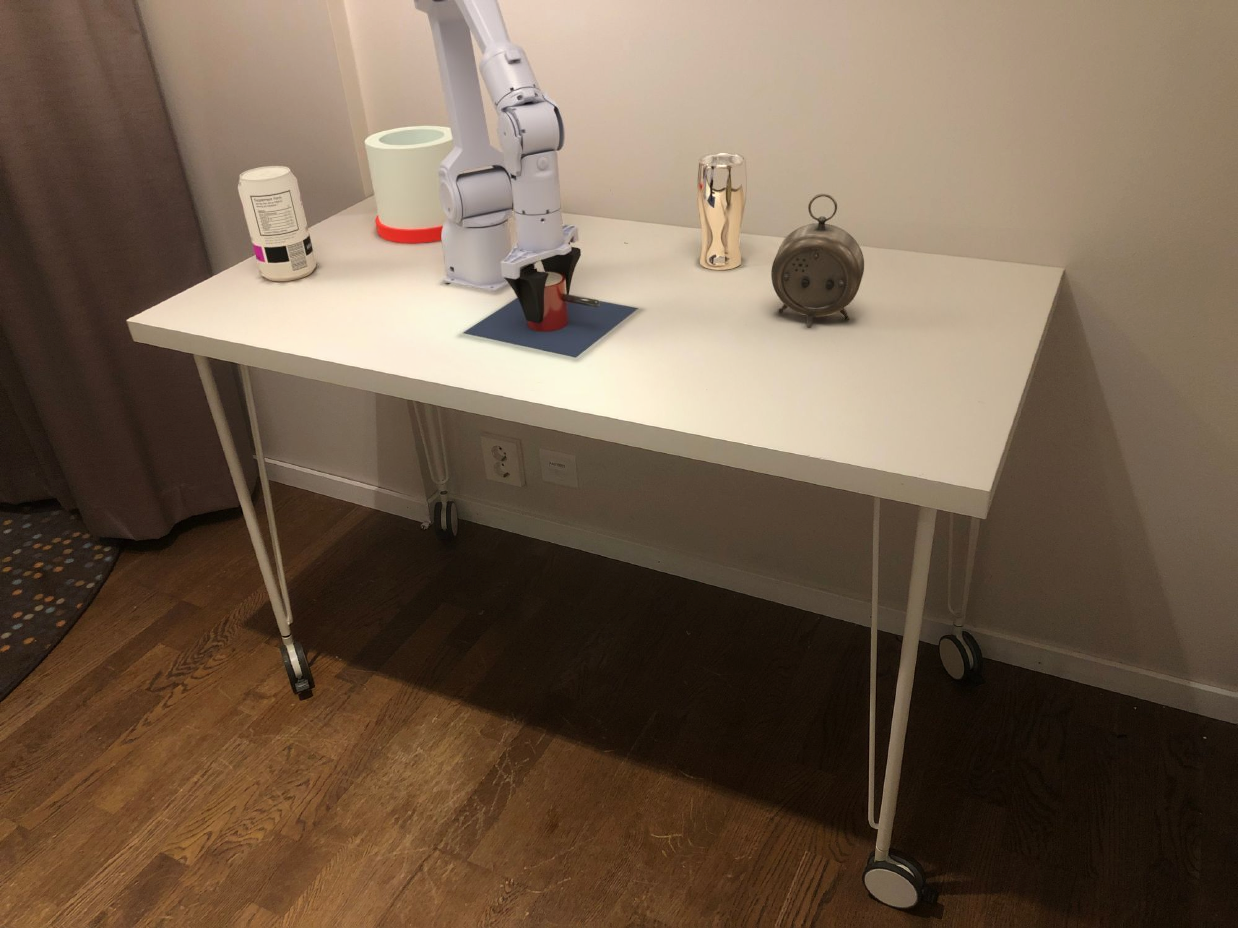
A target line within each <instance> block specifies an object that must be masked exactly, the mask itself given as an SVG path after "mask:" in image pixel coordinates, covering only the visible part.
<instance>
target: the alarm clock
mask: <svg viewBox="0 0 1238 928" xmlns="http://www.w3.org/2000/svg"><path fill="white" fill-rule="evenodd" d="M822 197H824V198H825V197H826V198H828V199H830V200H831V201H832V203H833V205H834V210H833V213H832V214H831V215H830V216H829V217H825V216H823V215H821V216H819V217H816V216H815V215H814V214H813V212H812V204H813V203H814V201H815V200H817V199H818V198H822ZM807 209H808V213H809V215H810V217H811V218H812V219H813V220H815V221H817V223H810V224H806V225H803V226H800V227H798V228H796V229H794V230H793V231H792V232H790V233H789V234H788V235H787V236H786V237H785V238H784V239H783V241H782V242H781V244H780V246H779V247H778V250H777V252H776V254H775V256H774V259H773V262H772V264H771V273H770V277H771V284H772V287H773V290H774V292H775V294H776V296H777V297H778V299H779V300H780V302H782V306H781V308H778V310H777V311H778V314H782V313H783V312H784V311H785V310H787V308H788V309H790V310H791V311H793V312H795V313H797V314H800V315H803V316H806V326H807V327H808V328H811V327H812V326H813V321H814V318H820V317H828V316H831V315H834V314H836V313H838V312H839V313H840V314H841V315H842V316H843V317H844V320H845V321H847V322H848V321H850V319H851V317H850V316H849V315H848V313H847V310H846V308H847V306H849V305H850V304H851V303H852V301H853V300H854V299H855V297H856V296H857V293H858V292H859V289H860V286H861V282H862V279H863V277H864V272H865V258H864V254H863V251H862V248H861V246H860V245H859V243H858V242H857V240H856V239H855V238H854V236H852V235H851V234H850V233H849V232H847V231H846V230H844V229H843V228H841V227H838V226H836V225H834V224H830V223H826V222H828V221H829V220H831V219H832V218H833V217H834V216H835V215H836V214H837V211H838V203H837V201H836V199H835V198H834V197H833V196H832V195H830V194H828V193H819V194H816V195H814V196H813V197H812V198H811V199H810V201H809V202H808V206H807Z"/></svg>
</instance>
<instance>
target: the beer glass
mask: <svg viewBox="0 0 1238 928" xmlns="http://www.w3.org/2000/svg"><path fill="white" fill-rule="evenodd" d="M747 177H748V175H747V158H746V157H745V156H744V155H743V154H739V153H733V152H716V153H708V154H704V155H702V156H701V157H699V158H698V167H697V178H696V179H697V180H696V202H697V209H698V216H699V220H700V227H701V233H702V235H701V236H702V245H701V251H700V257H699V264H700V266H701V267H703V268H705V269H709V270H714V271H727V270H732V269H735V268H738V267H739V266H740V265H741V264H742V254H741V249H740V247H741V246H740V234H741V228H742V222H743V220H744V219H743V218H744V214H745V209H746V201H747V193H748V192H747V191H748V190H747V189H748V178H747Z"/></svg>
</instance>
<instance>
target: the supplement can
mask: <svg viewBox="0 0 1238 928" xmlns="http://www.w3.org/2000/svg"><path fill="white" fill-rule="evenodd" d="M237 191H238V195H239V199H240V202H241V206H242V211H243V214H244V218H245V222H246V225H247V229H248V233H249V237H250V240H251V244H252V247H253V252H254V255H255V259H256V262H257V267H258V270H259V274H260V275H261V276H262V277H264V278H265V279H266V280H268V281H271V282H291V281H295V280H300V279H303V278H305V277H307V276H309V275H311V274H312V273H313V272H314V269H315V268H316V267H317V262H316V256H315V251H314V247H313V244H312V240H311V234H310V231H309V226H308V222H307V218H306V213H305V209H304V204H303V201H302V196H301V191H300V187H299V182H298V178H297V177H296V176H295V175H294V174H293V172H292V171H291V168H289V167H288V166H282V165H268V166H261V167H256V168H251V169H247V170H245V171H243V172H242V173H240V174H239V180H238V184H237Z"/></svg>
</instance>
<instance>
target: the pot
mask: <svg viewBox="0 0 1238 928" xmlns="http://www.w3.org/2000/svg"><path fill="white" fill-rule="evenodd" d="M544 272H545V273H548V274H549V275H548V277H547V280H546V284H545V289H544V297H543V307H544V313H543V320H542V322H541V323H535V322H530V321H527V325H528V327H529V328H530V329H532V330H535V331H541V332H548V331H555V330H559V329H562V328H564V327H565V326H567V325H568V323H569V317H568V304H567V302H571V303H576V304H582V305H587V306H592V307H598V306H599V305H600V302H599V301H600V300H598V299H595V298H589V297H584V296H578V295H573V294H569V295H568V294H567V291H566V278H565V276H564V275H563V274H561V273H558V272H550V271H544Z"/></svg>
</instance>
